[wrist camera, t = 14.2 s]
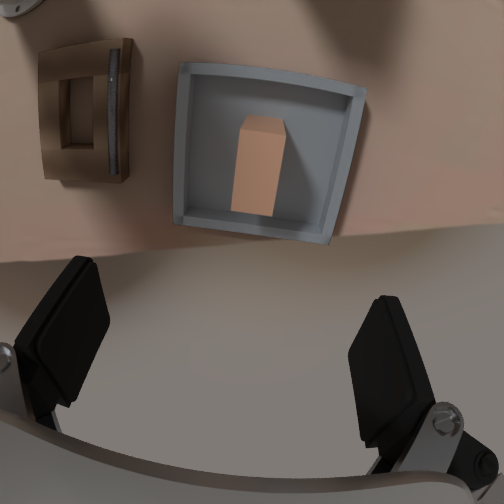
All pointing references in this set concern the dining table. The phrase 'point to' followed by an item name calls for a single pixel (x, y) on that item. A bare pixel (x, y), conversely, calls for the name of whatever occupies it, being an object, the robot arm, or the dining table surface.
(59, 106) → the brown piece
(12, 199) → the dining table surface
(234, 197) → the tan rectangular block
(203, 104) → the tray
